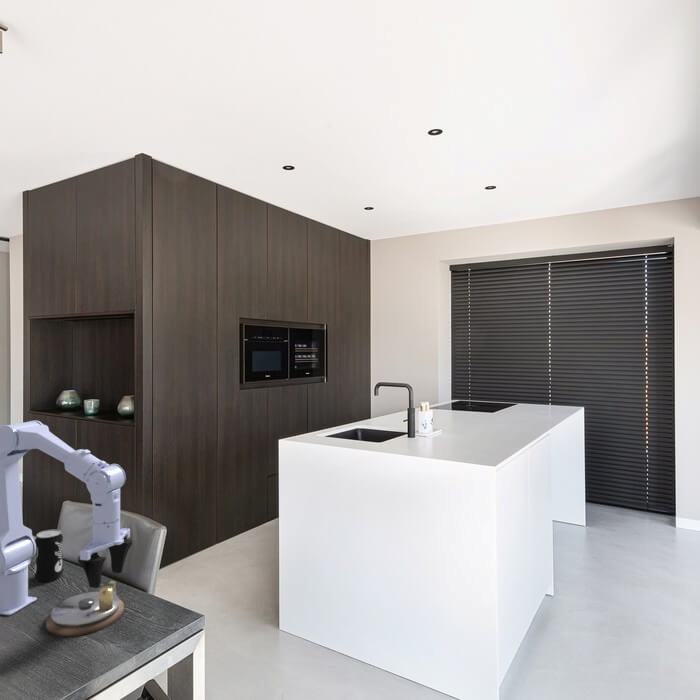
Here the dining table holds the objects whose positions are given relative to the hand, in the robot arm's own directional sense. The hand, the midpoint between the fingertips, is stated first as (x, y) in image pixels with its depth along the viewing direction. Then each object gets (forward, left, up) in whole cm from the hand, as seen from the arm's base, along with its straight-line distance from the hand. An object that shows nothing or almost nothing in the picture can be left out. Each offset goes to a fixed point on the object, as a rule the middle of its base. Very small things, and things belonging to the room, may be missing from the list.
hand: (106, 579), depth 119 cm
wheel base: (-5, 0, -9) cm, 11 cm away
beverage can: (-29, +15, -9) cm, 34 cm away
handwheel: (-5, 0, -8) cm, 10 cm away
